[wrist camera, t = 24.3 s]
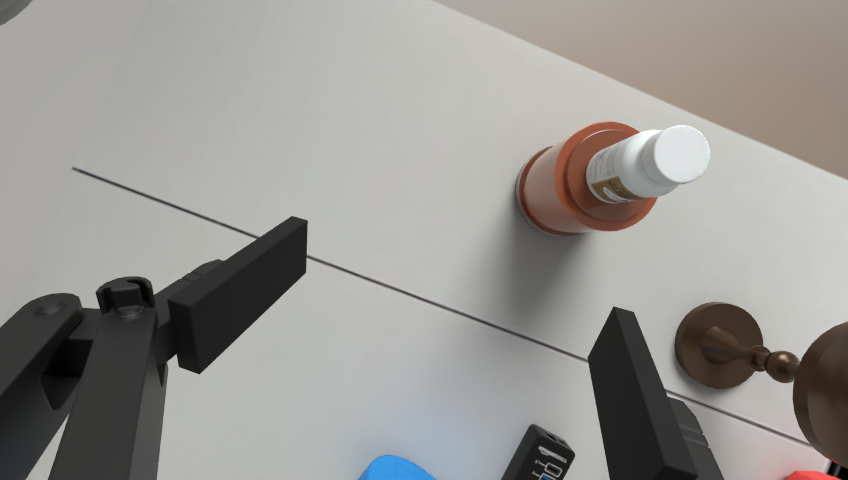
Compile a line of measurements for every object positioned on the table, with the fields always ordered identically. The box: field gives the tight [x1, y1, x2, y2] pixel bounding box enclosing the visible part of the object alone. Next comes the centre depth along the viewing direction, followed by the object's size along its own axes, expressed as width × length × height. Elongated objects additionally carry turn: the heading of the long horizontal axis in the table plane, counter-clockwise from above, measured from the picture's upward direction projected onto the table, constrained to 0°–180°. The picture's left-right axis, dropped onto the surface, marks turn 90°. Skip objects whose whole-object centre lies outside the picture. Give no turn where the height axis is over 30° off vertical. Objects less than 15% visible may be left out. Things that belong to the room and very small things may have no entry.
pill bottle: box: [586, 125, 710, 203], centre depth 26 cm, size 4×4×8 cm
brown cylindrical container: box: [515, 122, 658, 236], centre depth 35 cm, size 9×9×11 cm
